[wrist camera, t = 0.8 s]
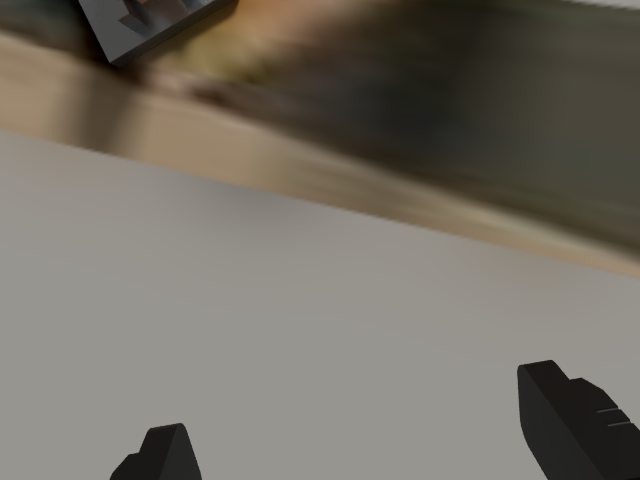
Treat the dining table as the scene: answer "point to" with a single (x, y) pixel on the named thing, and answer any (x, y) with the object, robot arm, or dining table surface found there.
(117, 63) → the rack
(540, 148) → the dining table surface
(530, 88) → the dining table surface
